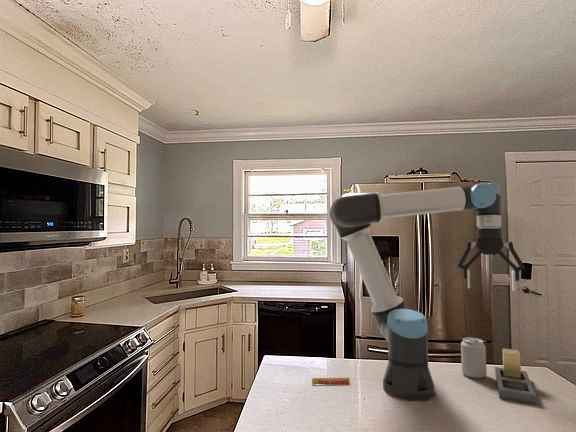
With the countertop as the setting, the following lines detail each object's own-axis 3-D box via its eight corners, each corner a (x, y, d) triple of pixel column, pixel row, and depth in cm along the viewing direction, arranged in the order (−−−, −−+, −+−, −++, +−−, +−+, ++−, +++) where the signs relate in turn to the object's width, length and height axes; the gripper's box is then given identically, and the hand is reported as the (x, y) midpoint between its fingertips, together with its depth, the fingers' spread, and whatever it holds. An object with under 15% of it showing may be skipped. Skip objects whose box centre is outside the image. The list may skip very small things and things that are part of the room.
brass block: (504, 384, 115) (503, 352, 116) (503, 379, 119) (502, 348, 120) (521, 387, 113) (520, 354, 113) (519, 381, 117) (518, 350, 117)
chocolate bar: (350, 386, 115) (350, 379, 115) (312, 387, 114) (312, 379, 115) (348, 383, 117) (348, 376, 117) (311, 383, 117) (311, 376, 117)
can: (489, 380, 118) (488, 343, 119) (465, 378, 119) (464, 342, 120) (482, 372, 125) (481, 336, 126) (459, 370, 127) (458, 335, 127)
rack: (499, 398, 105) (498, 389, 105) (495, 374, 123) (495, 367, 123) (536, 404, 101) (536, 395, 101) (526, 379, 119) (526, 371, 119)
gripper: (449, 228, 128) (450, 288, 127) (533, 227, 117) (536, 293, 116) (450, 228, 135) (451, 285, 134) (530, 227, 123) (532, 290, 122)
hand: (490, 289), depth 125 cm, fingers open, 13 cm apart
